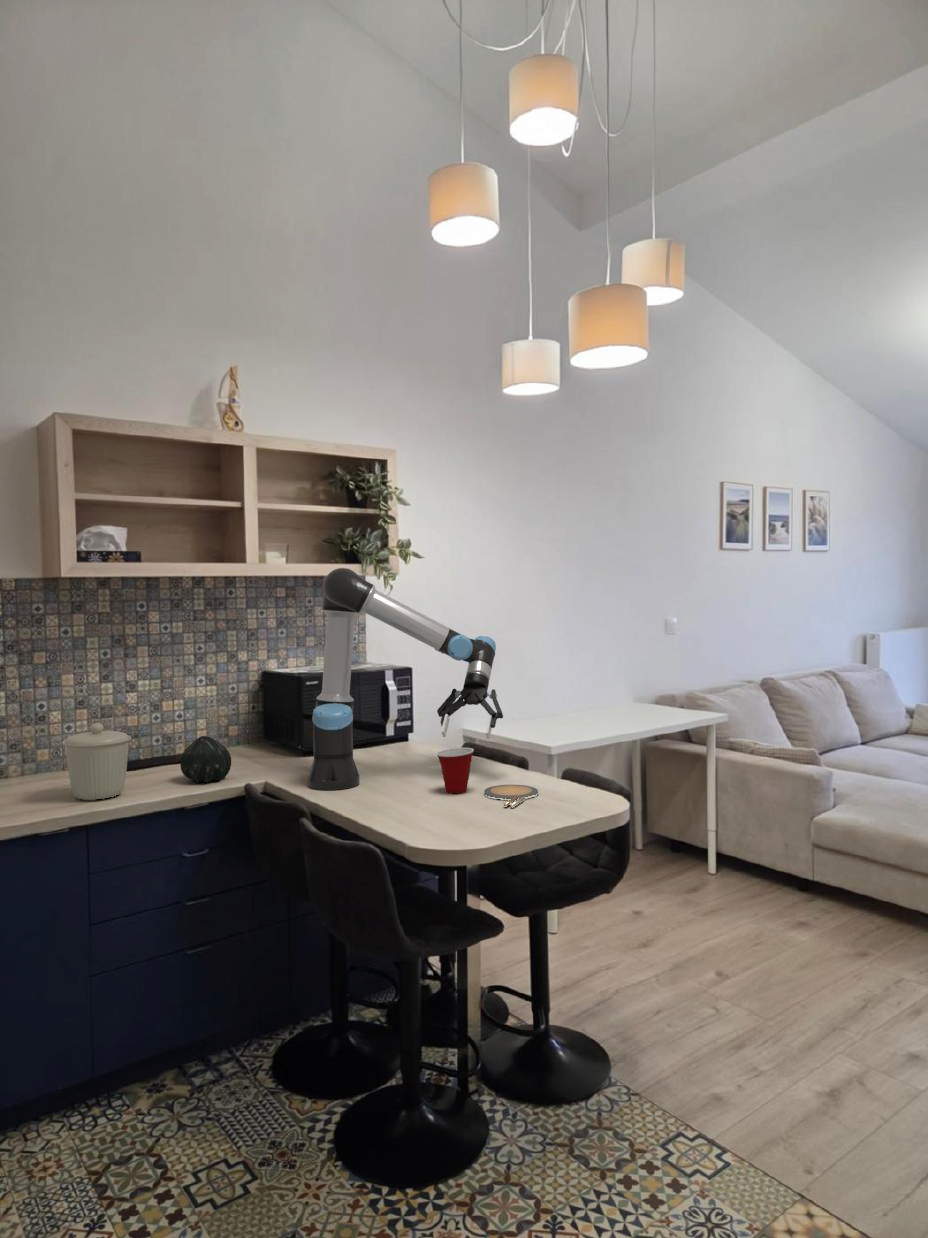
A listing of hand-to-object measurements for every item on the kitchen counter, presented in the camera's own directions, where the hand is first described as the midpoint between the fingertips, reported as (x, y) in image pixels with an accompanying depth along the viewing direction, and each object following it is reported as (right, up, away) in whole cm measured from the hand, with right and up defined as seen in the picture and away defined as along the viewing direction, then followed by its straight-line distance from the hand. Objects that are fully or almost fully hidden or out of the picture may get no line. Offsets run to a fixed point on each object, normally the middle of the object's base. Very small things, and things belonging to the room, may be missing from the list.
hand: (465, 735), depth 251 cm
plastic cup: (-3, -15, -10) cm, 18 cm away
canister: (-105, -17, -9) cm, 106 cm away
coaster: (+13, -15, -14) cm, 24 cm away
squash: (-80, -16, +10) cm, 82 cm away
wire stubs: (+13, -15, -25) cm, 32 cm away
